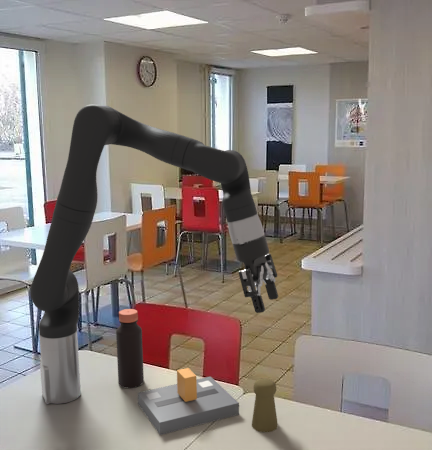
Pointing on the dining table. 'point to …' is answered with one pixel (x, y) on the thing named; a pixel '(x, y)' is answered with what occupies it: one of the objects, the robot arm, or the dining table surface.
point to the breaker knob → (186, 384)
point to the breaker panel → (187, 406)
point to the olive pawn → (264, 406)
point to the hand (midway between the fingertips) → (267, 305)
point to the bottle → (129, 350)
